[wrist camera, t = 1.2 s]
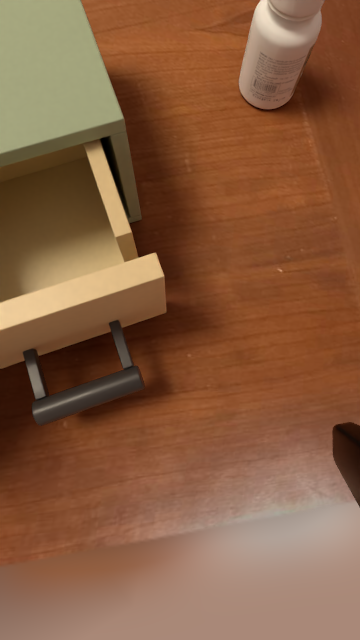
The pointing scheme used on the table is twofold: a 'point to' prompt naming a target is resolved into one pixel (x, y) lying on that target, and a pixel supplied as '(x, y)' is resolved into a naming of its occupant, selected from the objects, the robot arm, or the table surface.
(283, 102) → the pill bottle
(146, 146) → the table surface
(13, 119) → the cabinet
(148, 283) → the drawer
